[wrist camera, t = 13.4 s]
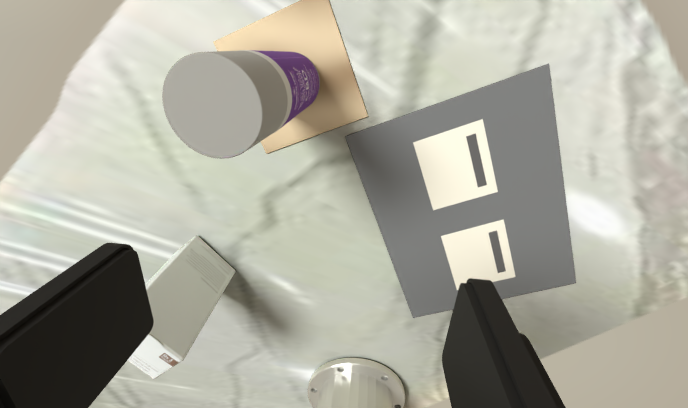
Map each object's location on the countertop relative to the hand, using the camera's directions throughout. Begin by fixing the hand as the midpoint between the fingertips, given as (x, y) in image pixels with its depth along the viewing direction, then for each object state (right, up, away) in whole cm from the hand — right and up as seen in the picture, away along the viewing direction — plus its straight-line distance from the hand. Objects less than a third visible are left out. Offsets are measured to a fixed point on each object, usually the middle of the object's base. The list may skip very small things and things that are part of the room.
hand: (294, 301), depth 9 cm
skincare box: (-14, -3, +27) cm, 31 cm away
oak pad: (-3, +13, +18) cm, 23 cm away
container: (-3, +13, +18) cm, 23 cm away
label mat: (+13, +2, +22) cm, 26 cm away
